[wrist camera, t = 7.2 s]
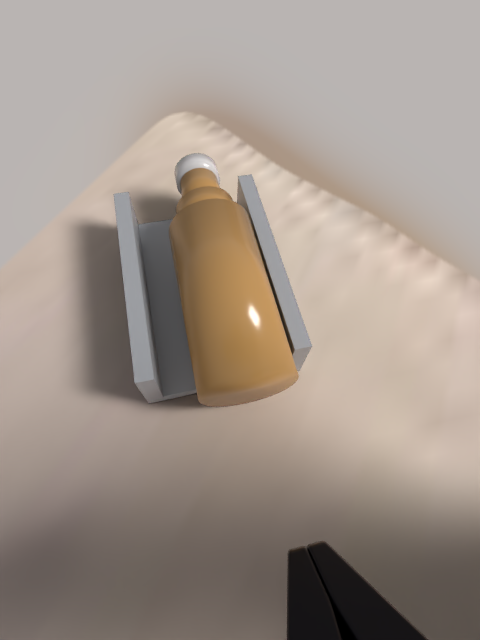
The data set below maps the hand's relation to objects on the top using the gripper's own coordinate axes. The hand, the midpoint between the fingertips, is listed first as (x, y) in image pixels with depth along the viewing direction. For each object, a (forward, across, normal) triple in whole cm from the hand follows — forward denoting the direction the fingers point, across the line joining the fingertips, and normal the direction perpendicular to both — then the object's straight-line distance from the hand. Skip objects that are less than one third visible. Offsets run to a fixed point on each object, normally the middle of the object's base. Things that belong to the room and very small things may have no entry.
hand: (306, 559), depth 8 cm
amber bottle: (+8, 0, 0) cm, 8 cm away
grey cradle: (+15, 0, -3) cm, 15 cm away
